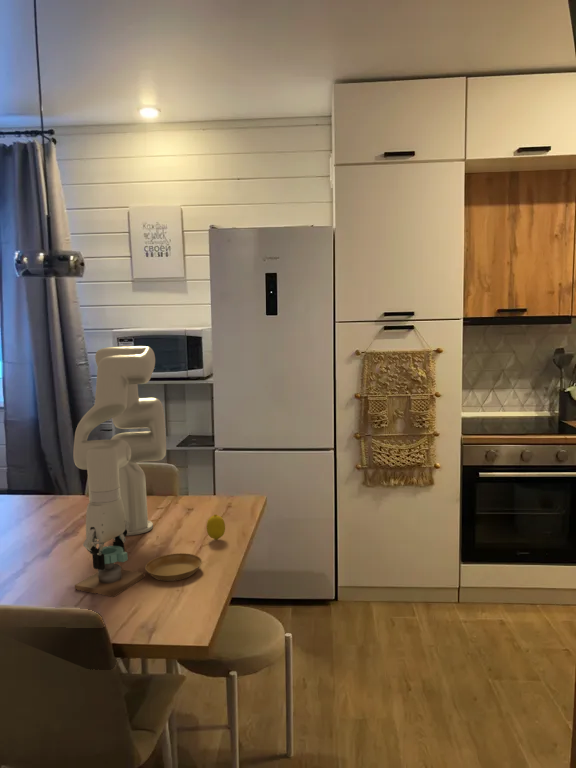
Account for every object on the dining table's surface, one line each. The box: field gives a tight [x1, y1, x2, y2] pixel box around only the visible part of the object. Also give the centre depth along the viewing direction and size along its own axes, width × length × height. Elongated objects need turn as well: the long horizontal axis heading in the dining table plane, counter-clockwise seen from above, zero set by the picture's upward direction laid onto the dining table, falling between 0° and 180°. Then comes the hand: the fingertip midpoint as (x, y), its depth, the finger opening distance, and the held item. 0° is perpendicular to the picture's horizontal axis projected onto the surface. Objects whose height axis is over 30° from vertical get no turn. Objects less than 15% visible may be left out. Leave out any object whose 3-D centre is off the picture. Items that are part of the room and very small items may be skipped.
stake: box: [74, 563, 145, 598], centre depth 154 cm, size 12×12×7 cm
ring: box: [102, 544, 129, 564], centre depth 154 cm, size 9×7×2 cm
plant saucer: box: [144, 552, 203, 582], centre depth 160 cm, size 15×15×3 cm
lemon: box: [206, 514, 226, 541], centre depth 183 cm, size 6×6×8 cm
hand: (109, 562), depth 155 cm, fingers closed on ring, 7 cm apart
